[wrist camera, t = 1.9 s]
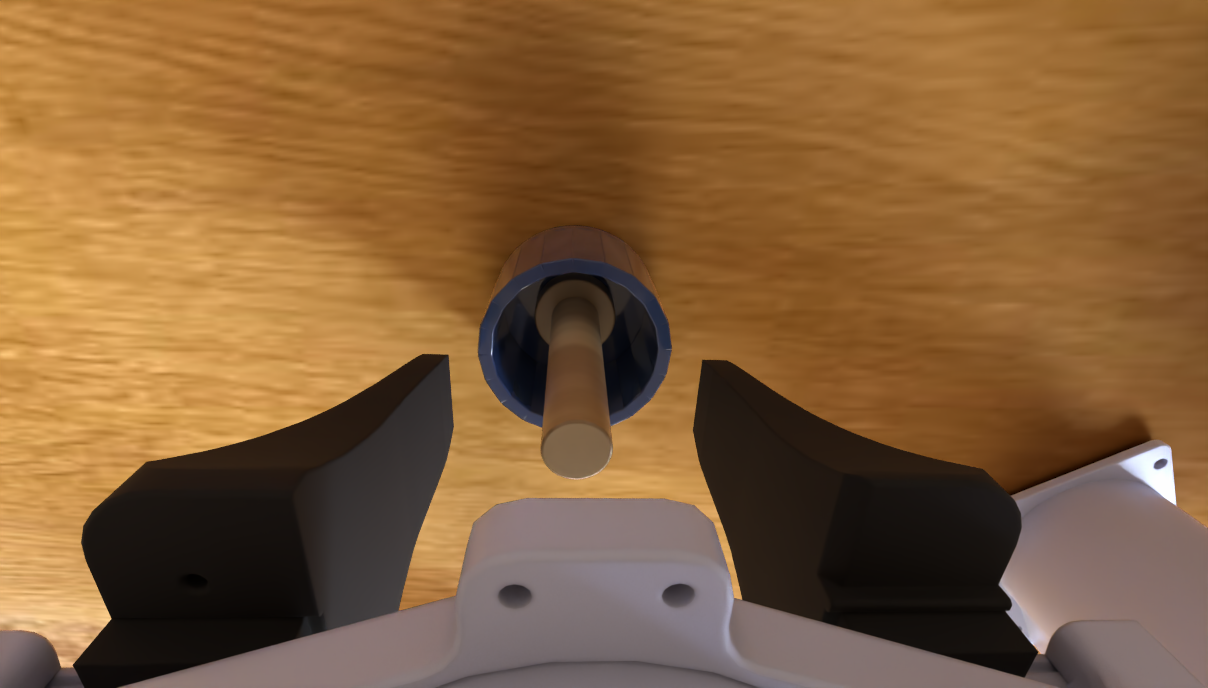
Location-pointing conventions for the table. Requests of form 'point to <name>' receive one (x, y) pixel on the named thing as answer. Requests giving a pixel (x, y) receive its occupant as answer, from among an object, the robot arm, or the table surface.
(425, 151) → the table surface
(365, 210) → the table surface
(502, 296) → the cup
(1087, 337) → the table surface
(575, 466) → the beige capped rod
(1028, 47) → the table surface
